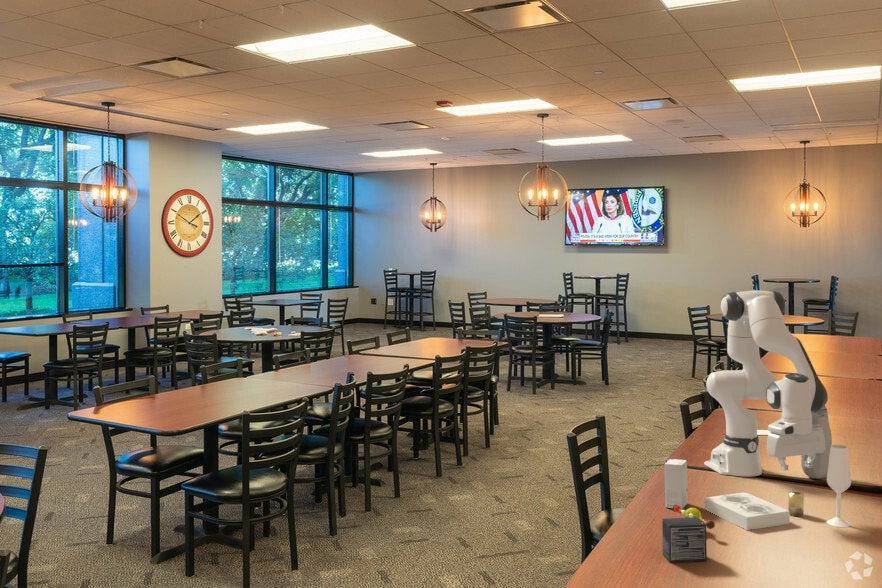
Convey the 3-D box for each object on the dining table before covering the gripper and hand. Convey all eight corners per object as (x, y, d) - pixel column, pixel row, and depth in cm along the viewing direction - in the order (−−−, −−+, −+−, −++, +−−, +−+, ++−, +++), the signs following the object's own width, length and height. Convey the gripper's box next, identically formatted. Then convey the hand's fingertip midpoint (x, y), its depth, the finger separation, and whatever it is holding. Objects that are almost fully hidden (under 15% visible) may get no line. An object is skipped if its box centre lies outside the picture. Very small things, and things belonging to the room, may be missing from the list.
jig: (704, 509, 251) (704, 497, 251) (745, 504, 256) (745, 492, 256) (746, 530, 232) (746, 517, 232) (789, 523, 237) (789, 511, 237)
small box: (698, 552, 216) (698, 516, 215) (707, 562, 209) (707, 524, 209) (661, 553, 215) (661, 517, 215) (669, 563, 209) (669, 525, 208)
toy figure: (666, 521, 240) (666, 500, 240) (680, 519, 242) (680, 498, 242) (704, 541, 224) (704, 518, 223) (720, 538, 226) (720, 516, 225)
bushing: (785, 513, 246) (785, 491, 246) (796, 511, 248) (796, 490, 247) (795, 517, 242) (795, 495, 242) (806, 515, 244) (806, 494, 243)
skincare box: (682, 510, 251) (682, 465, 250) (663, 507, 254) (663, 463, 253) (688, 503, 258) (688, 459, 257) (669, 500, 261) (669, 457, 260)
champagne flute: (829, 518, 241) (829, 442, 240) (852, 522, 237) (853, 445, 236) (823, 524, 236) (824, 447, 235) (848, 528, 232) (848, 450, 230)
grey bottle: (834, 482, 278) (835, 405, 276) (804, 481, 280) (805, 405, 278) (826, 474, 287) (827, 400, 286) (797, 473, 290) (798, 399, 288)
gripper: (815, 421, 250) (815, 463, 250) (763, 426, 243) (763, 469, 244) (830, 424, 244) (830, 467, 244) (778, 430, 237) (777, 474, 238)
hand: (796, 468), depth 244 cm, fingers open, 8 cm apart
